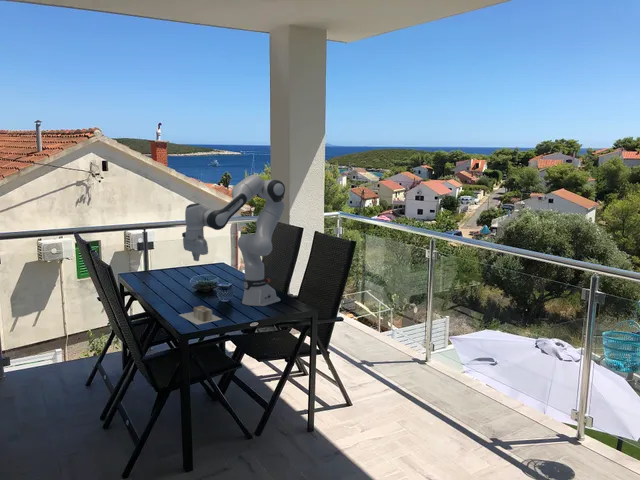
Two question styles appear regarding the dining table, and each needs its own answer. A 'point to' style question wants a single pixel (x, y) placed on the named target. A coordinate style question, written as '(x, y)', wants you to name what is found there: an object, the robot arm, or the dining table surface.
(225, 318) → the dining table surface
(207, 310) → the birch block
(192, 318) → the sand mat
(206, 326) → the dining table surface
